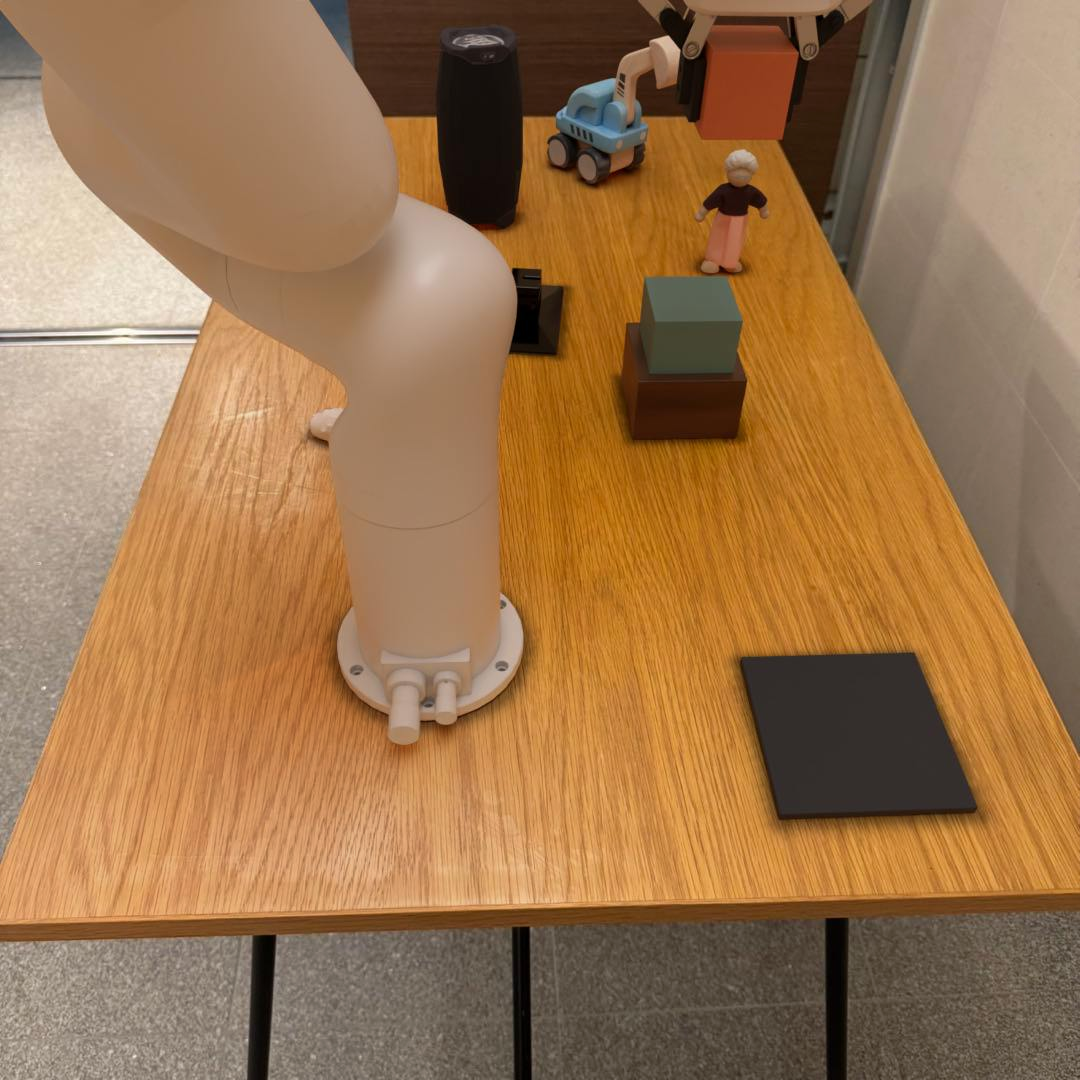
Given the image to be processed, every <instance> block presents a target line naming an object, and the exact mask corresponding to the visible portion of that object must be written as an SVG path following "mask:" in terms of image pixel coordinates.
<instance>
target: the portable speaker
mask: <svg viewBox="0 0 1080 1080" xmlns="http://www.w3.org/2000/svg"><path fill="white" fill-rule="evenodd" d="M439 37H440V38H439V45H438V46H440V52H439V59H438V67H437V77H436V86H435V112H436V113H435V114H436V134H437V135H436V136H437V137H436V138H437V157H438V159H437V160H438V164H439V171H440V176H441V177H440V178H441V181H442V186H443V187H442V188H443V193H444V200H445V204H446V206H447V209H448V210H447V212H448V213H450V214H452V215H454V216H456V217H457V218H459V219H461V220H463V221H464V222H466V223H467V224H469V225H470V226H472V225H496V227H497V228H498V229H506V228H508V227H509V226H510V225H512V224H513V223H514V222H515V220H516V213H517V205H518V203H519V196H520V189H521V179H522V173H523V164H524V89H523V81H522V75H521V66H520V58H519V53H518V52H519V51H518V43H517V36H516V34H515V31H514V30H513V29H511V28H509V27H508V26H505V25H501V24H500V25H499V24H493V23H489V24H487V25H486V26H476V27H460V28H459V27H457V26H448V27H446V28H444V29H442V30H441V33H440V35H439Z"/></svg>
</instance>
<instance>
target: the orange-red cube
mask: <svg viewBox="0 0 1080 1080" xmlns="http://www.w3.org/2000/svg"><path fill="white" fill-rule="evenodd" d="M798 55H799V53H798V51H797V50H796V49H795V47H794V46H793V45H792V43H791V42H790V41H789V38H788V37H787V35H786V34H785V33H784V32H783V30H782V29H781V27H780V26H779V25H744V24H743V25H742V24H741V25H737V24H736V25H734V24H733V25H732V24H730V25H729V24H722V25H721V24H719V25H718V24H713V26H712V28H711V31H710V33H709V35H708V37H707V39H706V42H705V44H704V53H703V56H704V57H705V59H706V61H707V67H706V75H705V82H704V89H703V97H702V104H701V112H700V119H699V120H697V122H692V123H693V124H694V127H695V129H696V131H697V134H698V135H699V138H700V141H701V140H702V141H782V140H783V137H784V132H785V128H786V123H785V122H786V117H787V112H788V107H789V102H790V97H791V91H792V86H793V81H794V76H795V71H796V66H797V60H798Z"/></svg>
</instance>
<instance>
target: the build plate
mask: <svg viewBox="0 0 1080 1080" xmlns="http://www.w3.org/2000/svg"><path fill="white" fill-rule="evenodd" d="M511 272H512V275H513V277H514V281H515V285H516V291H517V313H516V321H515V327H514V333H513V337H512V341H511V346H510V350H509V354H517V355H518V354H519V355H534V356H550V357H551V356H553V357H554V356H557V355H558V347H559V340H560V339H559V338H560V329H561V321H562V310H563V300H564V291H565V290H564V289H565V288H564V286H563V285H548V284H543V276H542V274H543V269H542V268H526V267H525V268H523V267H512V269H511Z"/></svg>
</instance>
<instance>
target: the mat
mask: <svg viewBox="0 0 1080 1080" xmlns="http://www.w3.org/2000/svg"><path fill="white" fill-rule="evenodd" d="M739 664H740V668H741V673H742V676H743V680H744V684H745V688H746V691H747V692H746V693H747V697H748V700H749V704H750V709H751V712H752V716H753V719H754V724H755V728H756V732H757V737H758V741H759V744H760V748H761V752H762V757H763V761H764V765H765V768H766V769H765V770H766V773H767V777H768V781H769V785H770V788H771V793H772V796H773V801H774V805H775V809H776V813H777V817H778V820H793V819H825V818H851V817H852V818H853V817H855V818H856V817H878V816H879V817H883V816H907V815H909V816H910V815H913V816H914V815H936V814H937V815H938V814H966V813H967V814H968V813H976V812H977V809H978V808H979V807H978V804H977V802H976V799H975V796H974V794H973V792H972V790H971V786H970V785H969V782H968V780H967V777H966V775H965V773H964V770H963V767H962V765H961V762H960V760H959V758H958V756H957V753H956V750H955V747H954V746H953V743H952V741H951V738H950V736H949V734H948V731H947V728H946V726H945V724H944V721H943V719H942V717H941V714H940V712H939V709H938V707H937V705H936V702H935V699H934V697H933V695H932V691H931V690H930V687H929V685H928V682H927V680H926V678H925V675H924V673H923V671H922V668H921V665H920V663H919V661H918V657H917V656H916V653H915V652H911V651H910V652H877V653H875V652H874V653H842V654H841V653H839V654H806V655H805V654H804V655H803V654H802V655H801V654H800V655H799V654H798V655H767V656H766V655H764V656H741V657H740V661H739Z"/></svg>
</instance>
